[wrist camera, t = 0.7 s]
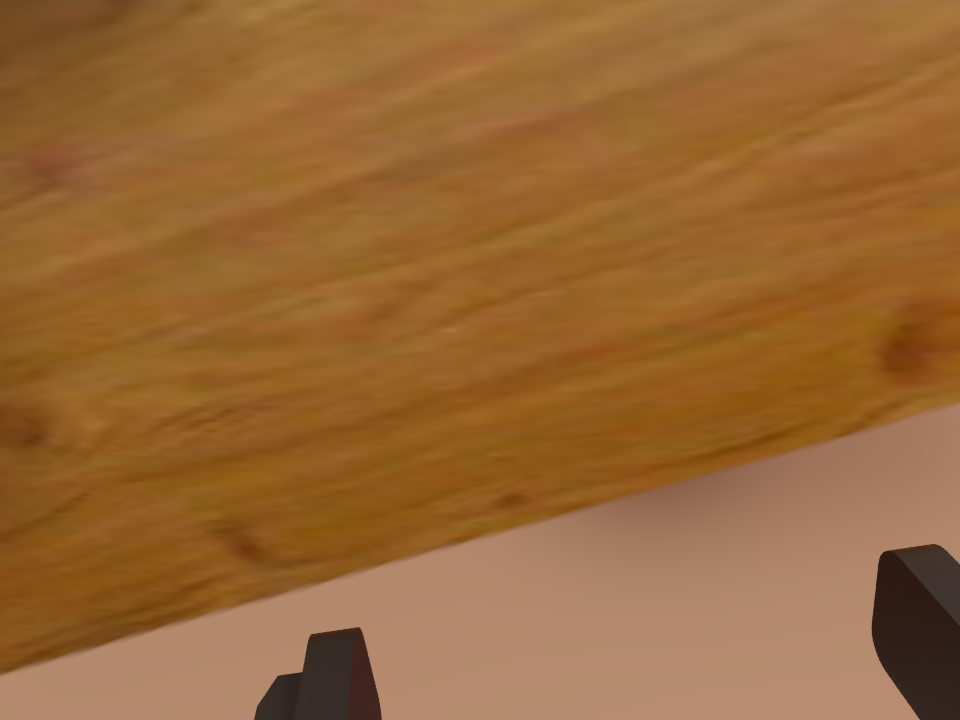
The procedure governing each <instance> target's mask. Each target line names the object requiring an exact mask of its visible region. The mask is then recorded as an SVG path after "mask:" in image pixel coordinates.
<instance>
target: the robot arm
mask: <svg viewBox="0 0 960 720" xmlns="http://www.w3.org/2000/svg"><path fill="white" fill-rule="evenodd" d="M872 637H873V642H874V646H875V650H876V653H877V655H878V657H879V660H880V662H881V664H882V666H883V668H884V669H885V671H886V672H887V674H888V675H889V677H890V678H891V679H892V681H893V682H894V684H895V685H896V687H897V688H898V689H899V691H900V692H901V694H902V695H903V696H904V698H905V699H906V701H907V702H908V704H909V705H910V706H911V707H912V709H913V710H914V712H915V713H916V715H917V716H918V718H919V719H920V720H960V564H959V563H958V562H957V561H956V560H955V559H954V558H953V557H952V556H951V555H950V554H949V553H948V552H947V551H946V550H945V549H944V548H942V547H941V546H939V545H936V544H931V545H924V546H917V547H910V548H903V549H897V550H890V551H885V552H883V553H882V555H881V556H880V559H879V564H878V573H877V582H876V591H875V600H874V609H873V618H872ZM254 720H382V718H381V709H380V703H379V698H378V693H377V689H376V685H375V681H374V677H373V673H372V669H371V665H370V661H369V657H368V652H367V648H366V645H365V641H364V637H363V633H362V631H361V629H360V628H359V627H357V628H351V629H344V630H337V631H330V632H323V633H317V634H312V635H311V636H310V637H309V640H308V645H307V650H306V656H305V662H304V668H303V672H300V673H294V674H287V675H280V676H277V678H276V679H275V681H274V682H273V684H272V685H271V687H270V688H269V690H268V691H267V693H266V694H265V696H264V697H263V699H262V700H261V702H260V703H259V705H258V706H257V710H256V714H255V719H254Z"/></svg>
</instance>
